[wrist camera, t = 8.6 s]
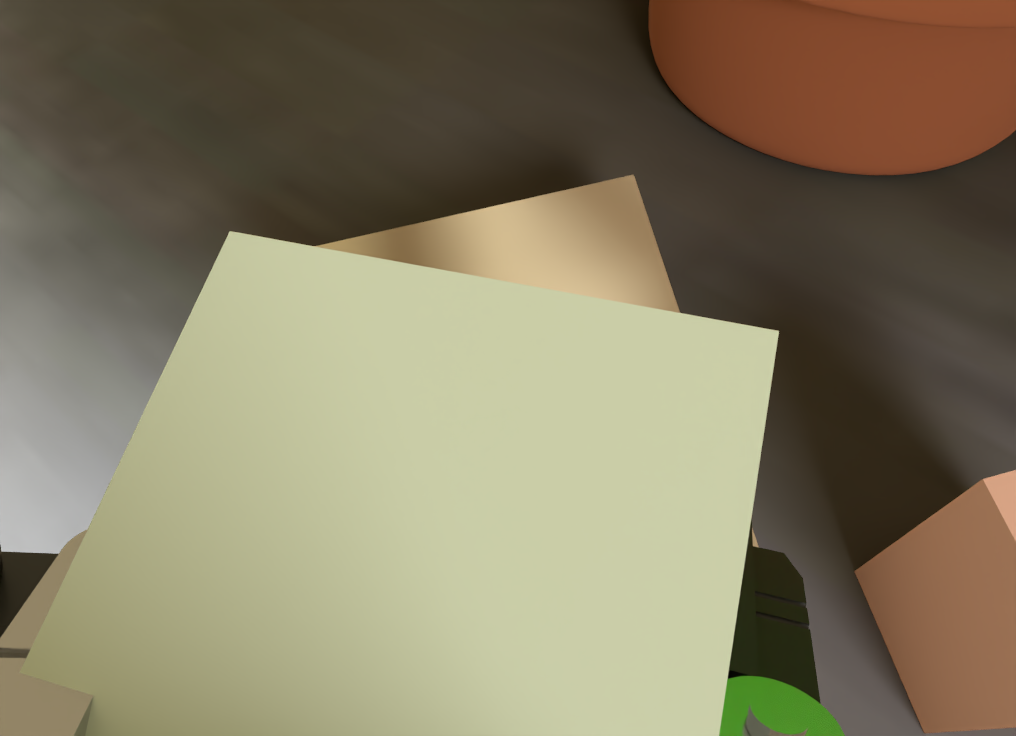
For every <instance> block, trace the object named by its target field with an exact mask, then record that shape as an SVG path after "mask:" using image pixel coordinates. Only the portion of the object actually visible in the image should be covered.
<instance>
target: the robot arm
mask: <svg viewBox="0 0 1016 736" xmlns="http://www.w3.org/2000/svg"><path fill="white" fill-rule="evenodd" d="M86 532H87V530H85V531H83V532H81V533H80V534H78V535H77V536H75V537H74V538H72V539H71V540H70V541H69V542H68V543H67V544H66V545H65V546H64V547H63V549H62V550H61V552H60V553H59V554H48V553H21V552H1V546H0V736H85V734H86V730H87V725H88V720H89V715H90V710H91V705H92V700H93V695H90V694H87V693H84V692H80V691H77V690H74V689H71V688H67V687H64V686H61V685H58V684H54V683H51V682H48V681H45V680H42V679H38V678H35V677H32V676H29V675H25V674H22V673H19V672H20V670H21V668H22V666H23V664H24V662H25V660H26V658H27V656H28V654H29V652H30V649H31V647H32V645H33V643H34V641H35V639H36V637H37V635H38V633H39V631H40V628H41V626H42V624H43V622H44V620H45V618H46V616H47V614H48V612H49V610H50V607H51V605H52V603H53V601H54V599H55V597H56V595H57V593H58V591H59V589H60V586H61V584H62V582H63V580H64V578H65V576H66V574H67V572H68V570H69V568H70V566H71V563H72V561H73V559H74V557H75V555H76V553H77V551H78V549H79V547H80V545H81V542H82V540H83V538H84V536H85V534H86ZM808 628H809V619H808V612H807V608H806V598H805V591H804V584H803V578H802V577H801V575H800V574H799V573H798V571H797V570H796V569H795V567H794V566H793V565H792V563H791V562H790V561H789V559H788V558H787V557H786V555H785V554H784V553H781V552H776V551H772V550H768V549H763V548H759V547H755V546H753V538H752V517H751V524H750V530H749V537H748V544H747V551H746V557H745V564H744V571H743V578H742V584H741V591H740V598H739V605H738V611H737V618H736V625H735V631H734V638H733V645H732V652H731V658H730V665H729V672H728V679H727V685H726V692H725V699H724V706H723V712H722V719H721V726H720V733H719V736H845V735H844V733H843V731H842V729H841V727H840V726H839V724H838V723H837V721H836V720H835V718H834V717H833V716H832V715H831V714H830V713H829V712H828V711H827V710H826V708H824V707H823V706H822V705H821V704H820V697H819V690H818V683H817V676H816V669H815V662H814V655H813V648H812V640H811V633H810V629H808Z"/></svg>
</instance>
